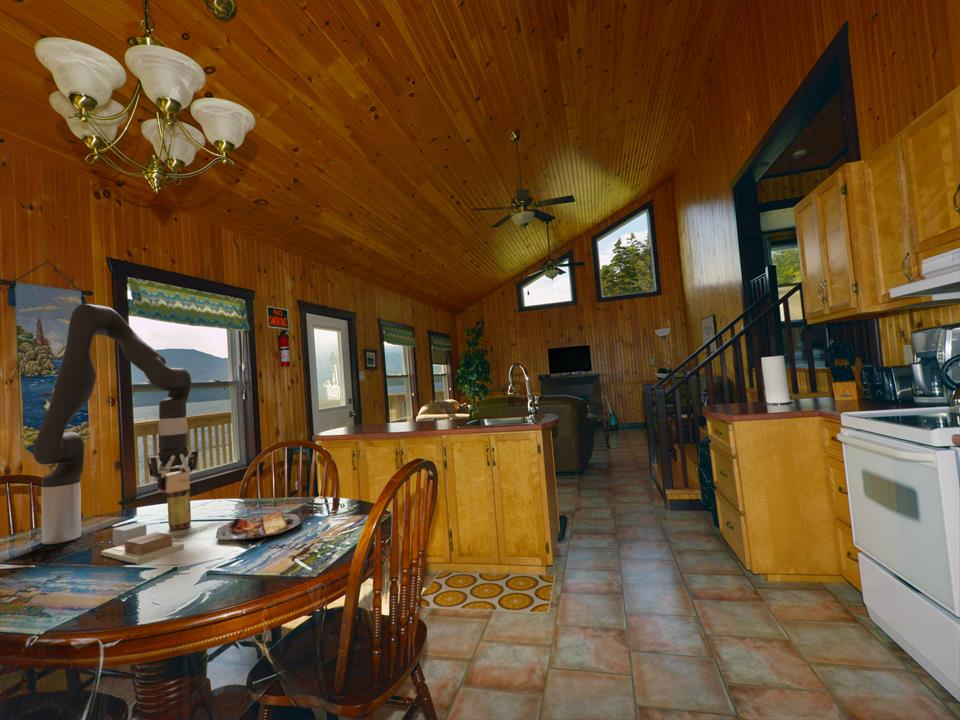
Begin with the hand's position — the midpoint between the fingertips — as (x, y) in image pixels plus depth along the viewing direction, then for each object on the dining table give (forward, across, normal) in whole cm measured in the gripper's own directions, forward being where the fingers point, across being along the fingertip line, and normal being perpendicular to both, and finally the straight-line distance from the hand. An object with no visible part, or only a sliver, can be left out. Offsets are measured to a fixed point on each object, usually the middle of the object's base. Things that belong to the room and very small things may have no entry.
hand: (173, 487), depth 145 cm
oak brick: (+1, 0, 0) cm, 1 cm away
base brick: (+14, +11, +7) cm, 19 cm away
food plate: (+15, -14, +20) cm, 29 cm away
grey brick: (+15, +8, -9) cm, 19 cm away
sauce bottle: (+15, -7, -10) cm, 20 cm away
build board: (+15, +11, +4) cm, 19 cm away
